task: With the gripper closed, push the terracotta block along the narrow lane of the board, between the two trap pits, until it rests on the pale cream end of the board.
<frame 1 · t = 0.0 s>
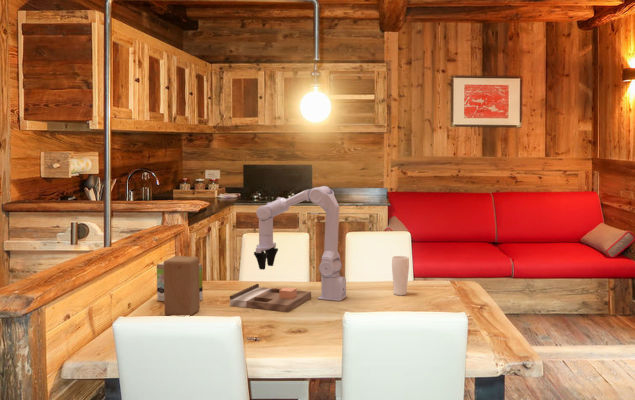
hand: (266, 267, 265), 10 cm above the table, tool pointing down, fingers open, 7 cm apart
tea box: (180, 301, 252), on the table
trap board: (273, 302, 249), on the table
wooden block: (182, 313, 234), on the table
terracotta block: (288, 297, 247), point 2 cm above the table, touching trap board
drinking glass: (400, 294, 261), on the table
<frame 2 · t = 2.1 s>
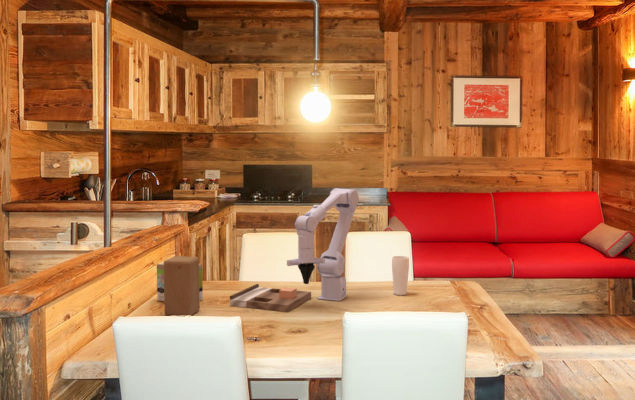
hand: (306, 283, 243), 8 cm above the table, tool pointing down, fingers closed
nothing on the table moved.
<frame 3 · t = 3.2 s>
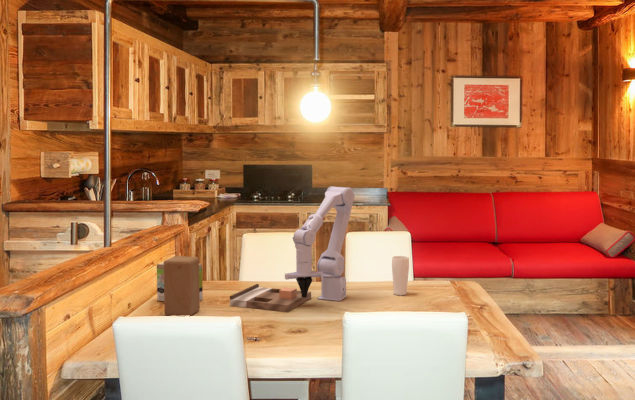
hand: (304, 296, 244), 3 cm above the table, tool pointing down, fingers closed
nothing on the table moved.
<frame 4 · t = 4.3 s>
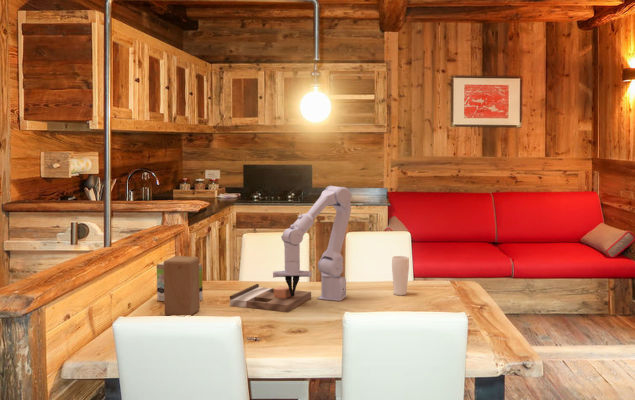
hand: (292, 295, 246), 3 cm above the table, tool pointing down, fingers closed
terracotta block: (282, 296, 248), point 3 cm above the table, touching gripper
everything else where it was.
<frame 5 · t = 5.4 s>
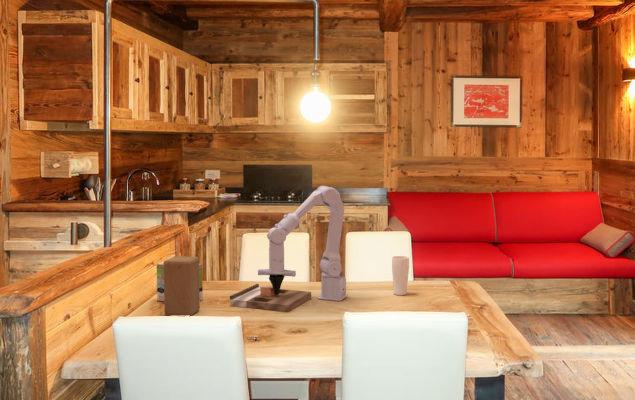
hand: (276, 294, 248), 3 cm above the table, tool pointing down, fingers closed
terracotta block: (269, 294, 251), point 3 cm above the table, touching gripper, trap board
everything else where it was.
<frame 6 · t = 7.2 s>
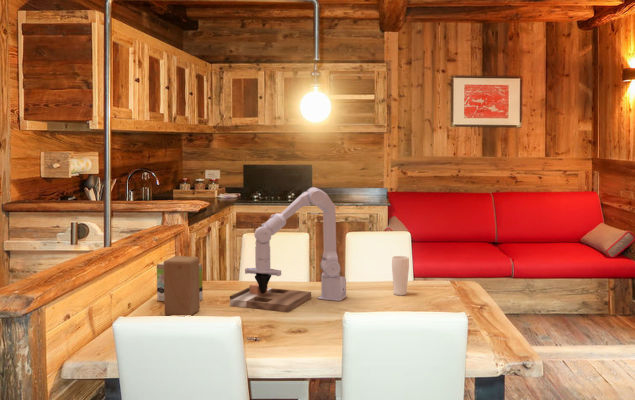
hand: (263, 292, 250), 3 cm above the table, tool pointing down, fingers closed
terracotta block: (258, 292, 254), point 2 cm above the table, touching gripper, trap board
everything else where it was.
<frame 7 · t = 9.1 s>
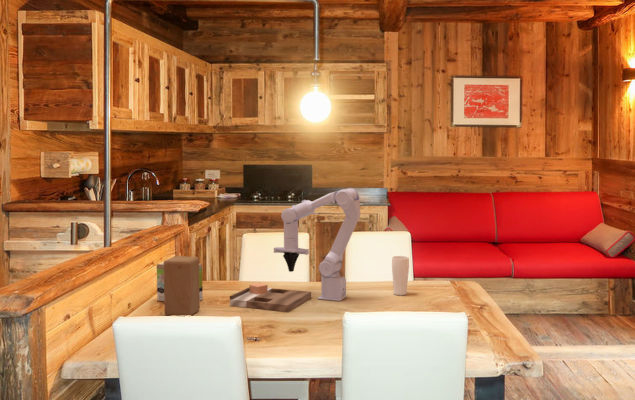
hand: (291, 271, 261), 9 cm above the table, tool pointing down, fingers closed
terracotta block: (258, 292, 254), point 2 cm above the table, touching trap board
everything else where it was.
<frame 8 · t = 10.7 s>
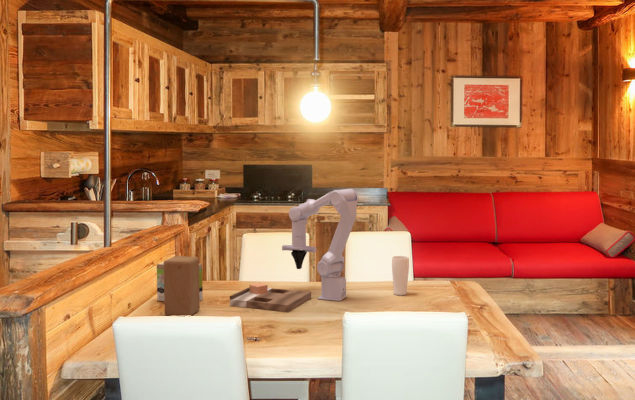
hand: (299, 268, 266), 9 cm above the table, tool pointing down, fingers closed
nothing on the table moved.
at the end: terracotta block 3.0 cm from the target spot on the trap board, point 2.5 cm above the trap board's base; terracotta block tilted 0° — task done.
